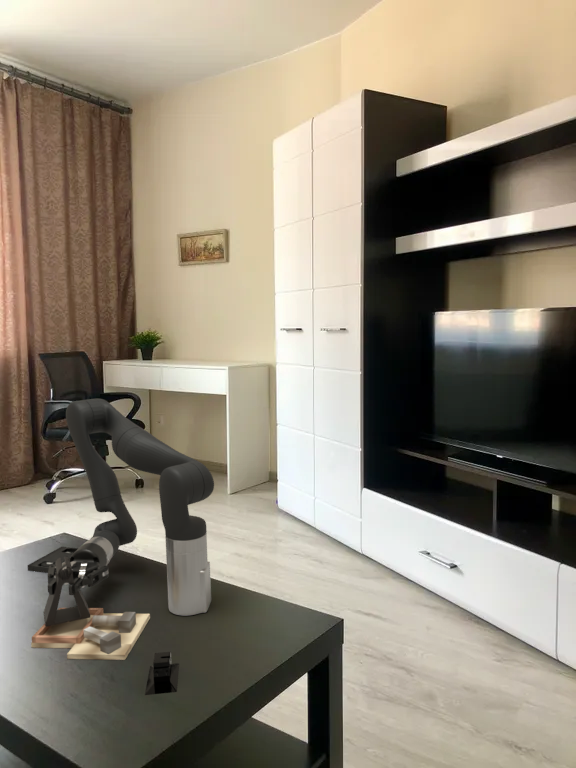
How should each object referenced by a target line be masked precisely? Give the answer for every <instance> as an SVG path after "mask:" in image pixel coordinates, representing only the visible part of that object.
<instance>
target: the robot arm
mask: <svg viewBox="0 0 576 768" xmlns="http://www.w3.org/2000/svg"><path fill="white" fill-rule="evenodd" d="M65 419H66V423H67V424H66V425H67V428H68V431H69V434H70V436H71V439H72V441H73V444H74V446H75V449H76V451H77V454H78V456H79V459H80V461H81V463H82V465H83V468H84V471H85V473H86V476H87V479H88V483H89V486H90V491H91V495H92V498H93V499H92V500H93V504H94V507H95V508H94V509H96V511H97V512H98V513H112V514H113V516H114V517H115V518H114V519H110V520H107V521H102V522H101V523H99V524H98V525H96V526H95V528H94V532H93V536H92V537H90V538H89V539H88V540H87V541H85V542H84V543H83V544H82V545H81V546H79V547H78V548H79V549H78V550H76V551H75V552H74V553H73V554H72V556H71V557H70V559H69V560H70V563H71V567H72V570H73V576H74V578H75V579H74V583H75V585H74V583H73V584H69V583H64V584H63V586H64V585H66V586H67V585H68V595H69V596H74V594H75V593H76V592H78V591H79V590H81V589H84V588H85V587H86V586H87V587H88V588H93V587H95V586H96V585H98V584H99V583H101V582H102V581H104V580H106V579H108V578H109V577H110V576H109V565H108V564H110V561H111V560H112V558H113V557H114V556H115V555H116V554H117V552H118V551H119V549H120V547H121V546H124V545H127V544H132V543H133V542H134V541H135V540H136V538H137V534H138V528H137V524H136V522H135V520H134V518H133V516H132V515H131V513H130V511H129V510H128V508H127V506H126V505H125V502H124V500H123V496H122V493H121V488H120V485H119V481H118V477H117V475H116V473H115V471H114V470H113V468H112V467H111V466H110V465H109V464H108V463H107V462H106V460H105V459H103V457H102V456H101V455H100V454H99V452H98V450H96V448H95V447H94V444H92V443H93V442H92V441H91V438H90V435H92V434H97V433H105V434H108V435H109V436H111V447H112V448H111V449H112V451H113V453H114V454H115V456H116V457H117V458H118V459H120V460H121V461H122V462H123V463H125V464H126V465H128V466H129V467H131V468H132V469H134V470H137V471H141V472H144V473H148V474H152V475H153V474H154V475H159V481H158V490H159V491H158V492H159V493H158V494H159V502H160V510H161V511H160V512H161V521H162V525H163V528H164V532H165V534H164V535H165V553H166V554H165V556H166V559H165V560H166V575H167V576H166V580H167V582H166V583H167V603H168V610H169V612H170V613H171V614H174V615H177V616H193V615H198V614H203V613H207V611H208V610H209V607H210V605H211V602H212V588H211V587H212V584H211V583H212V582H211V563H210V561H208V560H209V559H208V538H207V537H208V536H207V531H208V530H207V523H206V522H207V521H206V520H205V519H204V518H202V517H200V516H196V515H190V512H189V506H191V505H193V504H196V503H198V502H202V501H204V500H206V499H208V498H209V497H210V496H211V495H212V493H213V491H214V489H215V482H214V481H215V480H214V477H213V474H212V472H211V471H210V470H209V468H208V467H207V466H205V465H204V463H202V462H200V461H199V460H197V459H195V458H193V457H190V456H189V455H185V454H184V453H182V452H179V451H178V450H176V449H175V448H173V447H171V446H169V445H168V444H166V443H165V442H163V441H162V440H161V439H158V437H156V436H155V435H153V434H152V433H150V432H149V431H147V430H145V429H144V428H142V427H141V426H139V425H138V424H136V423H134V421H131V420H130V419H129V418H127V417H125V416H124V415H123V414H122V413H121V412H120V411H119V410H117V409H116V408H115V407H114V405H112V404H111V403H110V402H108V401H107V400H106V399H103V398H91V399H90V398H87V399H82V400H76V401H75V400H74V401H70V403H69V404H68V406H67V407H66V411H65ZM64 569H66V564H64V565H63V570H64ZM55 574H56V567H55V565H50V566H49V570H48V573H47V593H48V596H49V595H53V594H54V589H55V584H56V579H55Z"/></svg>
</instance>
